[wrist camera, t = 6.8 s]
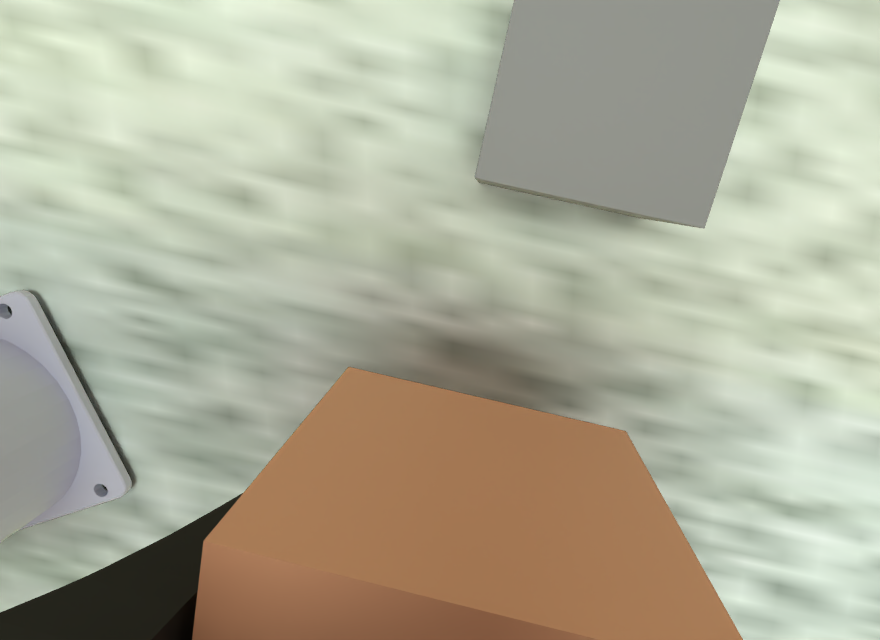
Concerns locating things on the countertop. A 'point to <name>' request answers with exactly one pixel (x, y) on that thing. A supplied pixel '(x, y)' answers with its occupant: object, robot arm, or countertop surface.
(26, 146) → the countertop surface
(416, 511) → the terracotta block
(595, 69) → the slate block
